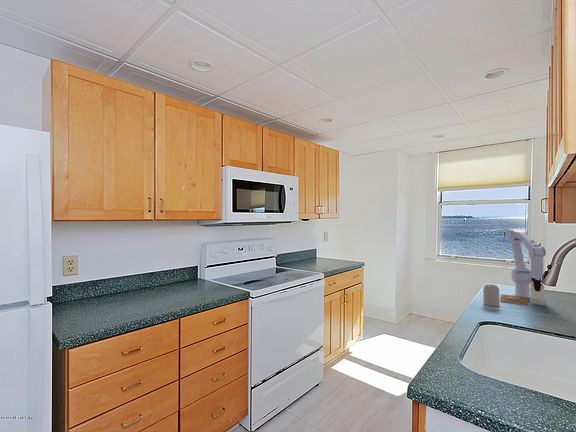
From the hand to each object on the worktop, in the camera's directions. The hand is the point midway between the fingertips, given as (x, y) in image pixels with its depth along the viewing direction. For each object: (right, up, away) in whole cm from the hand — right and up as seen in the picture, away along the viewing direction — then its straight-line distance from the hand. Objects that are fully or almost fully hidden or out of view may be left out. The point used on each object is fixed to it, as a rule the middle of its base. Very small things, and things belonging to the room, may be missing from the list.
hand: (537, 290), depth 178 cm
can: (-30, -8, -5) cm, 31 cm away
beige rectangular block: (0, -5, 0) cm, 5 cm away
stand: (0, -8, 0) cm, 8 cm away
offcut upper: (-12, -6, +2) cm, 14 cm away
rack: (-11, -8, +4) cm, 14 cm away
